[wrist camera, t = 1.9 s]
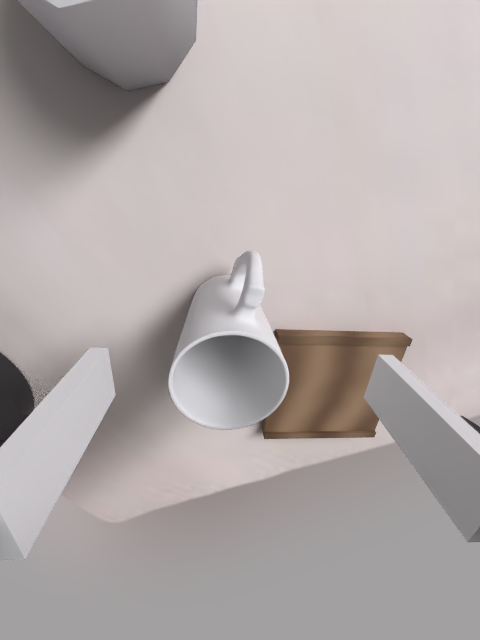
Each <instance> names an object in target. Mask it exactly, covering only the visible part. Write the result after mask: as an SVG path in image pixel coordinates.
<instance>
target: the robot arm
mask: <svg viewBox="0 0 480 640" xmlns="http://www.w3.org/2000/svg"><path fill="white" fill-rule="evenodd" d="M115 395H116V393H115V387H114V381H113V375H112V370H111V364H110V358H109V352H108V348H100V347H90V348H89V350H88V351H87V352H86V353H85V354H84V355H83V356H82V357H81V358H80V359H79V361H78V362H77V363H76V364H75V365H74V366H73V367H72V368H71V369H70V371H69V372H68V373H67V374H66V375H65V376H64V377H63V378H62V379H61V381H60V382H59V383H58V384H57V385H56V386H55V387H54V388H53V389H52V391H51V392H50V393H49V394H48V395H47V396H46V397H45V398H44V399H43V401H42V402H41V403H40V404H39V405H38V406H37V407H36V408H35V409H34V411H33V408H34V402H33V395H32V392H31V389H30V387H29V385H28V383H27V381H26V379H25V378H24V376H23V375H22V374H21V372H20V371H19V370H18V369H17V368H16V367H15V365H14V364H13V363H11V362H10V361H9V360H8V359H7V358H6V357H5V356H3V355H2V354H1V353H0V560H20V559H25V558H26V557H27V555H28V553H29V551H30V549H31V548H32V546H33V544H34V542H35V540H36V538H37V537H38V535H39V533H40V531H41V529H42V528H43V526H44V524H45V522H46V520H47V519H48V517H49V515H50V513H51V511H52V509H53V508H54V506H55V504H56V502H57V500H58V499H59V497H60V495H61V493H62V491H63V490H64V488H65V486H66V484H67V482H68V480H69V479H70V477H71V475H72V473H73V471H74V470H75V468H76V466H77V464H78V462H79V460H80V459H81V457H82V455H83V453H84V451H85V450H86V448H87V446H88V444H89V442H90V441H91V439H92V437H93V435H94V433H95V431H96V430H97V428H98V426H99V424H100V422H101V421H102V419H103V417H104V415H105V413H106V411H107V410H108V408H109V406H110V404H111V402H112V401H113V399H114V397H115ZM364 398H365V400H366V401H367V403H368V404H369V405H370V407H371V408H372V410H373V411H374V412H375V414H376V415H377V417H378V418H379V419H380V421H381V422H382V424H383V425H384V426H385V428H386V429H387V431H388V432H389V433H390V435H391V436H392V438H393V439H394V440H395V442H396V443H397V444H398V446H399V447H400V449H401V450H402V451H403V453H404V454H405V455H406V457H407V458H408V460H409V461H410V463H411V464H412V465H413V467H414V468H415V469H416V471H417V472H418V474H419V475H420V477H421V478H422V479H423V481H424V482H425V483H426V485H427V486H428V488H429V489H430V491H431V492H432V493H433V495H434V496H435V498H436V499H437V500H438V502H439V503H440V504H441V506H442V507H443V509H444V510H445V511H446V513H447V514H448V516H449V517H450V518H451V520H452V521H453V523H454V524H455V525H456V527H457V528H458V530H459V531H460V532H461V534H462V535H463V536H464V538H465V539H466V541H467V542H480V427H479V426H478V425H476V424H474V423H473V422H471V421H470V420H468V419H466V418H465V417H463V416H459V415H458V414H457V413H456V412H455V411H454V410H453V409H452V408H451V407H449V406H448V405H447V404H446V403H445V402H444V401H443V400H442V399H441V398H440V397H438V396H437V395H436V394H435V393H434V392H433V391H432V390H431V389H430V388H429V387H427V386H426V385H425V384H424V383H423V382H422V381H421V380H420V379H419V378H418V377H416V376H415V375H414V374H413V373H412V372H411V371H410V370H409V369H408V368H407V367H405V366H404V365H403V364H402V363H401V362H400V361H399V360H398V359H397V358H396V357H394V356H393V355H378V357H377V360H376V363H375V366H374V369H373V372H372V375H371V378H370V380H369V383H368V386H367V389H366V392H365V395H364Z"/></svg>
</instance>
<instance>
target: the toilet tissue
mask: <svg viewBox="0 0 480 640" xmlns="http://www.w3.org/2000/svg"><path fill="white" fill-rule="evenodd" d="M17 1H18V2H19V3H20V4H21V5H22V6H23V7H24V8H25V9H26V10H27V11H28V12H29V13H30V14H31V15H32V16H33V17H34V18H35V19H36V20H37V21H38V22H39V23H40V24H41V25H42V26H43V27H44V28H45V29H46V30H47V31H48V32H49V33H50V34H51V35H52V36H53V37H54V38H55V39H57V40H58V41H59V42H60V43H61V44H62V45H63V46H64V47H65V48H66V49H67V50H68V51H69V52H70V53H71V54H72V55H73V56H74V57H75V58H76V59H77V60H78V61H79V62H80V63H81V64H82V65H83V66H84V67H86V68H88V69H89V70H91V71H93V72H95V73H97V74H98V75H100V76H102V77H104V78H105V79H107V80H109V81H111V82H113V83H114V84H116V85H118V86H120V87H122V88H123V89H125V90H127V91H130V90H135V89H139V88H143V87H148V86H152V85H157V84H161V83H165V82H169V81H170V79H171V78H172V76H173V75H174V73H175V72H176V70H177V69H178V67H179V66H180V64H181V63H182V61H183V60H184V58H185V56H186V55H187V53H188V52H189V50H190V49H191V47H192V46H193V44H194V43H195V41H196V24H197V0H17Z"/></svg>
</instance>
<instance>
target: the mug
mask: <svg viewBox="0 0 480 640" xmlns="http://www.w3.org/2000/svg"><path fill="white" fill-rule="evenodd" d="M264 294H265V288H264V286H263V269H262V262H261V258H260V255H259V254H258V253H257V252H255V251H246V252H245V253H243V254H242V255H241V256H240V257H238V258H237V259H236V261H235V263H234V267H233V270H232V273H231V276H230V275H220V276H215V277H212V278H210V279H208V280H207V281H205V282H204V283H203V284H202V285H201V286H200V287H199V288H198V289H197V291H196V293H195V295H194V298H193V300H192V303H191V305H190V309H189V312H188V315H187V318H186V321H185V324H184V327H183V330H182V333H181V336H180V339H179V342H178V345H177V348H176V351H175V354H174V358H173V361H172V365H171V368H170V372H169V376H168V388H169V393H170V396H171V399H172V401H173V403H174V404H175V406H176V407H177V409H178V410H179V411H180V412H181V413H182V414H183V415H184V416H186V417H187V418H188V419H190V420H191V421H193V422H195V423H197V424H199V425H202V426H204V427H208V428H212V429H219V430H232V429H239V428H244V427H247V426H250V425H253V424H255V423H258V422H260V421H261V420H263V419H265V418H266V417H268V416H269V415H270V414H271V413H273V412H274V411H275V410H276V409H277V408H278V406H279V405H280V404H281V402H282V401H283V399H284V397H285V395H286V393H287V390H288V386H289V371H288V366H287V363H286V361H285V359H284V357H283V355H282V352H281V349H280V347H279V345H278V343H277V340H276V338H275V336H274V334H273V332H272V330H271V327H270V325H269V323H268V321H267V319H266V317H265V314H264V312H263V310H262V308H261V306H260V303H261V301H262V299H263V296H264Z"/></svg>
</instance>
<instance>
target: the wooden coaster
mask: <svg viewBox="0 0 480 640" xmlns="http://www.w3.org/2000/svg"><path fill="white" fill-rule="evenodd" d="M275 338H276V340H277V343H278V345H279V347H280V349H281V352H282V355H283V357H284V359H285V361H286V363H287V366H288V371H289V386H288V390H287V393H286V395H285V397H284V399H283V401H282V402H281V404H280V405H279V406H278V408H277V409H276V410H275V411H274V412H273V413H271V414H270V415H269V416H268V417H266V418H265V419H264V420H263V427H262V430H263V435H264V439H288V438H356V437H374V436H375V434H376V432H375V428H376V426H377V423H378V421H379V418H378V417H377V415H376V414H375V412H374V411H373V410H372V408H371V407H370V405H369V404H368V403H367V401H366V400H365V398H364V395H365V392H366V389H367V386H368V383H369V380H370V378H371V375H372V372H373V369H374V366H375V363H376V360H377V357H378V355H393V356H394V357H396V358H397V359H398V360H399V361H400V362H401V361H402V358H403V356H404V353H405V351H406V348H407V346H410V344H411V342H412V339H411V338H410V337H408V336H407V335H405V334H404V333H393V332H355V331H317V330H279V329H276V334H275Z"/></svg>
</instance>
